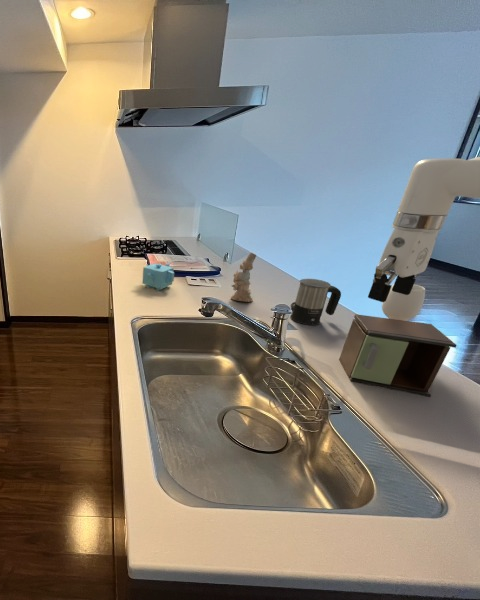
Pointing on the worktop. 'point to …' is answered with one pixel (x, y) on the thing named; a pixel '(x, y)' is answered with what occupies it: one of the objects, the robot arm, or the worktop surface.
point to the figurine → (243, 280)
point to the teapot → (158, 276)
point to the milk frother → (314, 301)
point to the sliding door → (379, 359)
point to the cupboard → (416, 360)
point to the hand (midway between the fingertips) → (388, 296)
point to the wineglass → (404, 304)
